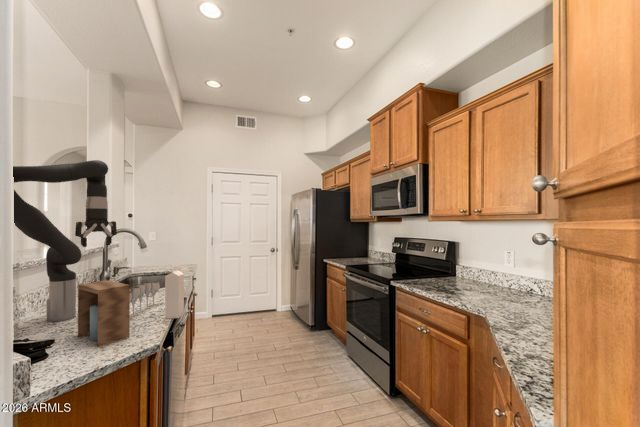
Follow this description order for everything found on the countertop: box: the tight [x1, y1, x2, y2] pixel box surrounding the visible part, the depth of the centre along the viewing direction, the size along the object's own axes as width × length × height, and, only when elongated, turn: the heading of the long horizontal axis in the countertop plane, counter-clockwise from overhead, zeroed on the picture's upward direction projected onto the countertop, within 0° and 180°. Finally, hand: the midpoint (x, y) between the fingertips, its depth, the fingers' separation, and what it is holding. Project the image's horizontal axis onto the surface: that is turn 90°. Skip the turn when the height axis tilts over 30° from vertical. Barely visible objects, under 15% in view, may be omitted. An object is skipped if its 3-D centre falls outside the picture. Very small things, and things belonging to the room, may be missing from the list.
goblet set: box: [129, 281, 161, 322], centre depth 145 cm, size 28×6×13 cm, turn 1°
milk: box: [164, 266, 185, 319], centre depth 138 cm, size 6×6×22 cm
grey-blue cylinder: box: [89, 304, 98, 342], centre depth 113 cm, size 6×6×12 cm
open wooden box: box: [77, 279, 131, 348], centre depth 114 cm, size 10×18×20 cm, turn 57°
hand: (96, 246), depth 128 cm, fingers open, 8 cm apart
